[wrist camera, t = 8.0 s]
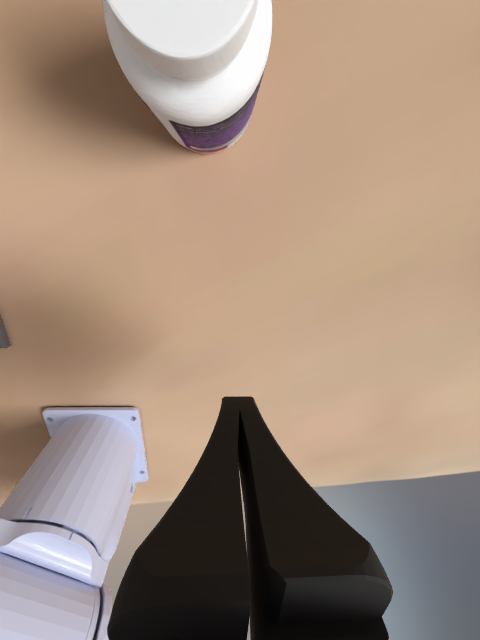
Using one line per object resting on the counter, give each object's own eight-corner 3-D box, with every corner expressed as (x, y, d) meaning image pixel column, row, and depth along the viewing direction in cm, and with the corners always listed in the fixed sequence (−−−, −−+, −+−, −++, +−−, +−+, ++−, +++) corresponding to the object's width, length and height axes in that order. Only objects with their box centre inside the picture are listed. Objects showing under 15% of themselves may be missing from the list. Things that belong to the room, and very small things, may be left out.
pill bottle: (271, 79, 14) (345, -113, 6) (223, 174, 16) (221, 141, 7) (182, 5, 13) (94, -407, 4) (140, 117, 15) (15, -7, 6)
